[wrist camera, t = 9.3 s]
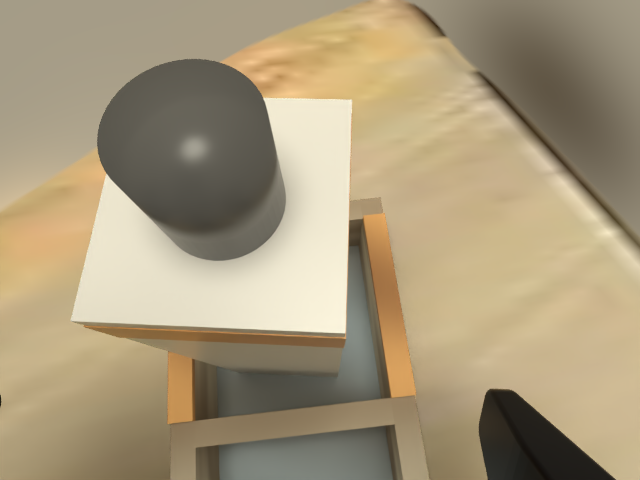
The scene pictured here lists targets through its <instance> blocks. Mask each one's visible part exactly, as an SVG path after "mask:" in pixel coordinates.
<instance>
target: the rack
mask: <svg viewBox="0 0 640 480" xmlns="http://www.w3.org/2000/svg"><path fill="white" fill-rule="evenodd" d="M415 395H416V390H415V384H414V378H413V372H412V367H411V361H410V355H409V350H408V344H407V338H406V332H405V327H404V321H403V315H402V310H401V304H400V298H399V292H398V287H397V281H396V275H395V270H394V264H393V258H392V252H391V247H390V241H389V235H388V230H387V224H386V218H385V213H383V209H382V203H381V198H380V197H379V198H370V199H361V200H352V201H350V214H349V250H348V286H347V322H346V341H345V346H344V348H343V350H342V356H341V361H340V367H339V373H338V377H318V376H298V375H277V374H257V373H238V372H235V371H231V370H228V369H225V368H222V367H218V366H215V365H212V364H209V363H205V362H202V361H199V360H196V359H192V358H189V357H186V356H183V355H179V354H176V353H173V352H169V351H168V419H167V424H171V448H170V480H429V474H428V468H427V462H426V457H425V451H424V445H423V439H422V434H421V428H420V422H419V416H418V411H417V405H416V399H415Z"/></svg>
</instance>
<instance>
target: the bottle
mask: <svg viewBox="0 0 640 480" xmlns="http://www.w3.org/2000/svg"><path fill="white" fill-rule="evenodd" d="M97 141H98V142H97V146H98V154H99V157H100V161H101V164H102V166H103V168H104V170H105V172H106V173H107V174H106V178H105V182H104V186H103V190H102V194H101V198H100V202H99V206H98V211H97V215H96V219H95V223H94V227H93V231H92V235H91V239H90V243H89V248H88V252H87V256H86V260H85V264H84V268H83V272H82V276H81V280H80V284H79V289H78V293H77V297H76V301H75V305H74V309H73V313H72V317H71V321H72V322H75V323H78V324H82V325H84V327H86V328H89V329H92V330H96V331H99V332H102V333H106V334H109V335H112V336H116V337H119V338H127V339H130V340H134V341H137V342H140V343H143V344H147V345H150V346H153V347H156V348H160V349H163V350H166V351H169V352H173V353H176V354H179V355H183V356H186V357H189V358H192V359H196V360H199V361H202V362H205V363H209V364H212V365H215V366H218V367H222V368H225V369H228V370H231V371H235V372H238V373H257V374H277V375H298V376H318V377H338V373H339V367H340V361H341V356H342V350H343V348H344V346H345V341H346V322H347V286H348V250H349V214H350V177H351V141H352V100H339V99H293V98H263V97H262V95H261V93H260V92H259V90H258V89H257V87H256V86H255V85H254V84H253V83H252V81H251V80H250V79H248V78H247V77H246V76H245V75H244V74H242V73H241V72H239V71H237V70H236V69H234V68H232V67H230V66H227V65H225V64H222V63H219V62H215V61H209V60H201V59H185V60H178V61H172V62H168V63H164V64H161V65H159V66H156V67H153V68H151V69H149V70H147V71H145V72H143V73H141V74H140V75H138V76H137V77H135V78H134V79H132V80H131V81H130V82H128V83H127V84H126V85H125V86H124V87H123V88H122V89H121V90H119V92H118V93H117V94H116V95H115V96H114V97H113V99H112V100H111V102H110V103H109V105H108V106H107V108H106V110H105V112H104V114H103V116H102V119H101V122H100V125H99V130H98V139H97Z"/></svg>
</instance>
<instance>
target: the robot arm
mask: <svg viewBox="0 0 640 480" xmlns="http://www.w3.org/2000/svg"><path fill="white" fill-rule="evenodd" d="M0 406H1V395H0ZM479 437H480V442H481V447H482V452H483V457H484V462H485V467H486V472H487V477H488V480H616V479H615V478H613V477H612V476H611V475H610V474H609V473H608V472H607V471H605V470H604V469H603V468H602V467H601V466H600V465H599V464H597V463H596V462H595V461H594V460H593V459H592V458H590V457H589V456H588V455H587V454H586V453H585V452H584V451H582V450H581V449H580V448H579V447H578V446H577V445H576V444H574V443H573V442H572V441H571V440H570V439H569V438H567V437H566V436H565V435H564V434H563V433H562V432H561V431H559V430H558V429H557V428H556V427H555V426H554V425H553V424H551V423H550V422H549V421H548V420H547V419H546V418H545V417H543V416H542V415H541V414H540V413H539V412H538V411H536V410H535V409H534V408H533V407H532V406H531V405H530V404H528V403H527V402H526V401H525V400H524V399H523V398H522V397H520V396H519V395H518V394H517V393H516V392H514V391H512V390H509V389H489V390H488V391H487V392H486V395H485V399H484V403H483V408H482V412H481V417H480V421H479Z"/></svg>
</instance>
